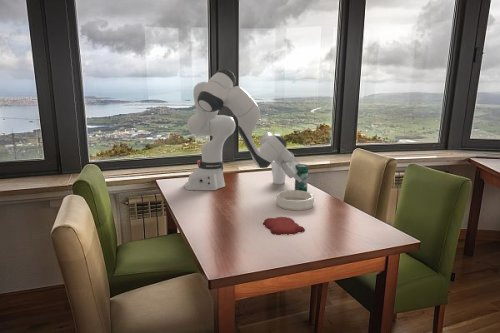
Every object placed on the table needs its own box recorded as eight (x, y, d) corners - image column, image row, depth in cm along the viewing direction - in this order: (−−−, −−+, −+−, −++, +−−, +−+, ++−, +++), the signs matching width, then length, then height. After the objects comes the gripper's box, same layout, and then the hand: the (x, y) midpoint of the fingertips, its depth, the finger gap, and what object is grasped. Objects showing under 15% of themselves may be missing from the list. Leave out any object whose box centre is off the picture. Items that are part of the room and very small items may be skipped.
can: (303, 196, 190) (304, 167, 187) (292, 194, 193) (293, 165, 190) (308, 193, 195) (309, 165, 192) (297, 191, 198) (298, 163, 195)
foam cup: (286, 185, 209) (286, 162, 206) (269, 184, 211) (270, 161, 208) (287, 180, 218) (288, 159, 215) (272, 180, 220) (272, 158, 217)
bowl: (282, 211, 168) (282, 202, 167) (273, 199, 184) (273, 191, 183) (318, 209, 171) (318, 200, 170) (306, 197, 187) (306, 189, 186)
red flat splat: (308, 233, 146) (308, 228, 145) (275, 238, 141) (275, 233, 141) (288, 217, 162) (288, 213, 161) (258, 221, 157) (258, 217, 157)
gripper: (284, 159, 182) (304, 180, 182) (292, 151, 201) (309, 170, 201) (275, 167, 184) (294, 188, 184) (283, 159, 203) (301, 177, 203)
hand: (302, 178), depth 192 cm, fingers open, 8 cm apart
